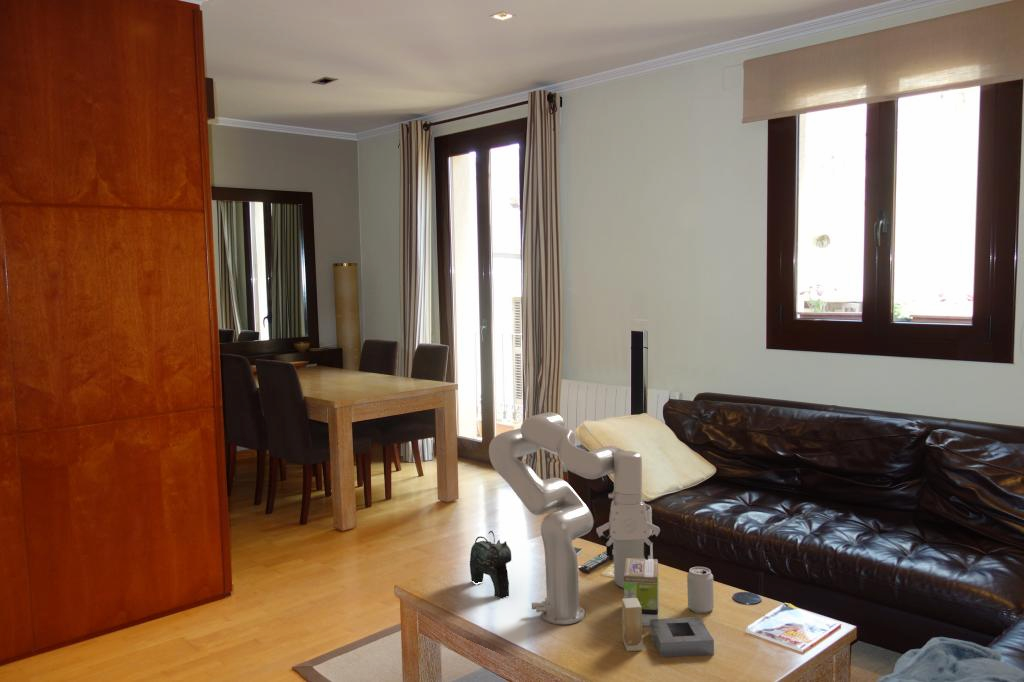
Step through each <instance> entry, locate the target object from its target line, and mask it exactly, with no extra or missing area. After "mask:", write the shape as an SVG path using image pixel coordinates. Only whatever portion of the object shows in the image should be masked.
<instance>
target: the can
mask: <svg viewBox="0 0 1024 682" xmlns="http://www.w3.org/2000/svg"><path fill="white" fill-rule="evenodd" d="M688 571H689V572H687V574H686V577H687V579H686V581H687V583H686V584H687V585H686V587H687V607H688V608H689V609H690V610H691V611H692V612H694V613H697V614H708V613H710V612H711V611H712V610H713V609H714V607H715V604H714V603H715V601H714V600H715V599H714V598H715V597H714V575H713V574H712V571H711V569H710V568H708V567H705V566H694V567H691V568H689V570H688Z"/></svg>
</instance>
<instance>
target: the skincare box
mask: <svg viewBox="0 0 1024 682" xmlns="http://www.w3.org/2000/svg"><path fill="white" fill-rule="evenodd" d="M621 603H622V605H621V606H622V607H621V608H622V609H621V610H622V641H623V644H624V647H625V649H626V651H627V652H635V651H636V652H637V651H639V652H640V651H643V626H642V607H641V605H640V603H639V601H638V599H637V598H625V599H624V598H622V599H621Z"/></svg>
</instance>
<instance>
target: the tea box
mask: <svg viewBox="0 0 1024 682" xmlns="http://www.w3.org/2000/svg"><path fill="white" fill-rule="evenodd" d="M659 597H660V596H659V561H658V559H657V558H653V559H648V560H646V559H636V558H626V559H625V569H624V588H623V599H625V598H637V599H638V601H639V603H640V605H641V607H642V627H643V626H644V627H650V619H659V601H660V600H659Z"/></svg>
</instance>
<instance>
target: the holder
mask: <svg viewBox="0 0 1024 682" xmlns="http://www.w3.org/2000/svg"><path fill="white" fill-rule="evenodd" d="M649 634H650V636H651V638H652V640H653V643H654V645H655V647H656V650H657V652H658V654H659V656H660V658H677V657H678V658H679V657H694V656H697V657H698V656H714V655H715V640H714V638H713V636H712V635H711V633H710V631H709V630H708V628H707V627H706V625H705V623H704V622H703V620H702V618H701V617H700V616H697V617H696V616H695V617H694V616H692V617H672V618H669V617H668V618H658V619H650V626H649Z"/></svg>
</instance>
